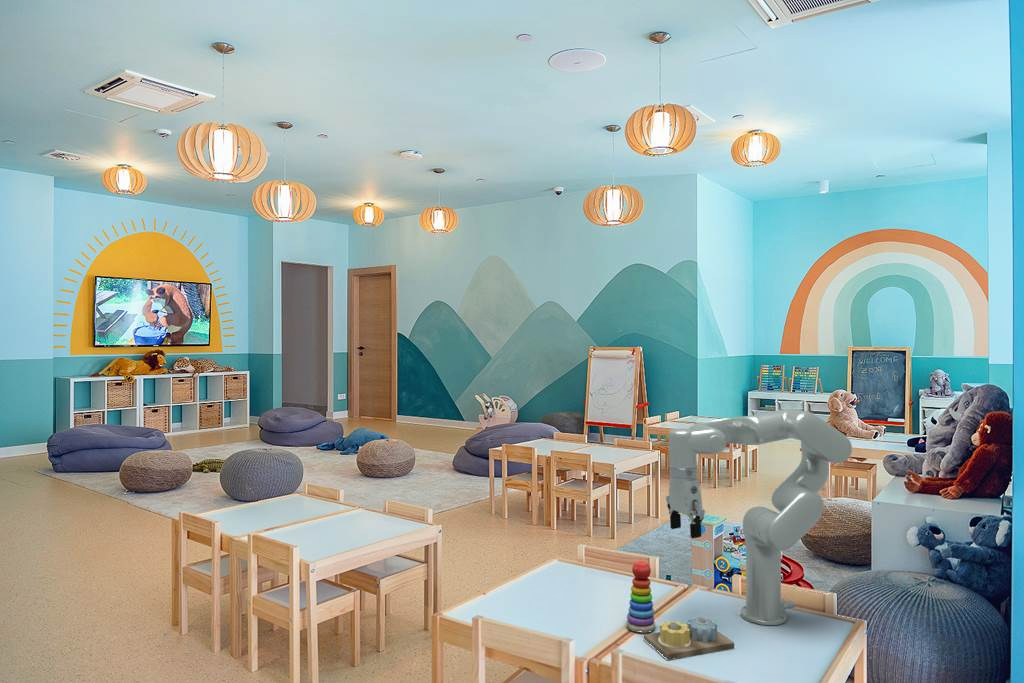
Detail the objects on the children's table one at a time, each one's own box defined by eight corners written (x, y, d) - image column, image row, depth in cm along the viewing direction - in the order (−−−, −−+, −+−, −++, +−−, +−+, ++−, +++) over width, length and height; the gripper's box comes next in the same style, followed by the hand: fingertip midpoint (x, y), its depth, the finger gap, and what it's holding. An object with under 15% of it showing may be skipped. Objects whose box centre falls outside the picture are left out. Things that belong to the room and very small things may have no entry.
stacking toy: (655, 635, 190) (655, 567, 190) (625, 633, 192) (625, 565, 191) (655, 623, 198) (655, 557, 198) (627, 621, 200) (626, 556, 199)
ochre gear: (679, 632, 188) (679, 619, 188) (695, 644, 181) (695, 630, 181) (654, 636, 186) (654, 623, 186) (669, 648, 179) (669, 635, 178)
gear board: (707, 629, 193) (707, 608, 193) (734, 648, 182) (734, 625, 182) (643, 640, 187) (643, 618, 187) (667, 660, 176) (666, 636, 176)
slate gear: (698, 627, 191) (698, 613, 191) (722, 636, 186) (722, 622, 185) (681, 635, 186) (681, 621, 186) (706, 645, 181) (706, 630, 181)
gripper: (713, 477, 190) (715, 539, 190) (677, 465, 206) (679, 523, 207) (690, 480, 187) (692, 543, 188) (655, 468, 203) (657, 526, 204)
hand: (685, 532), depth 197 cm, fingers open, 9 cm apart
